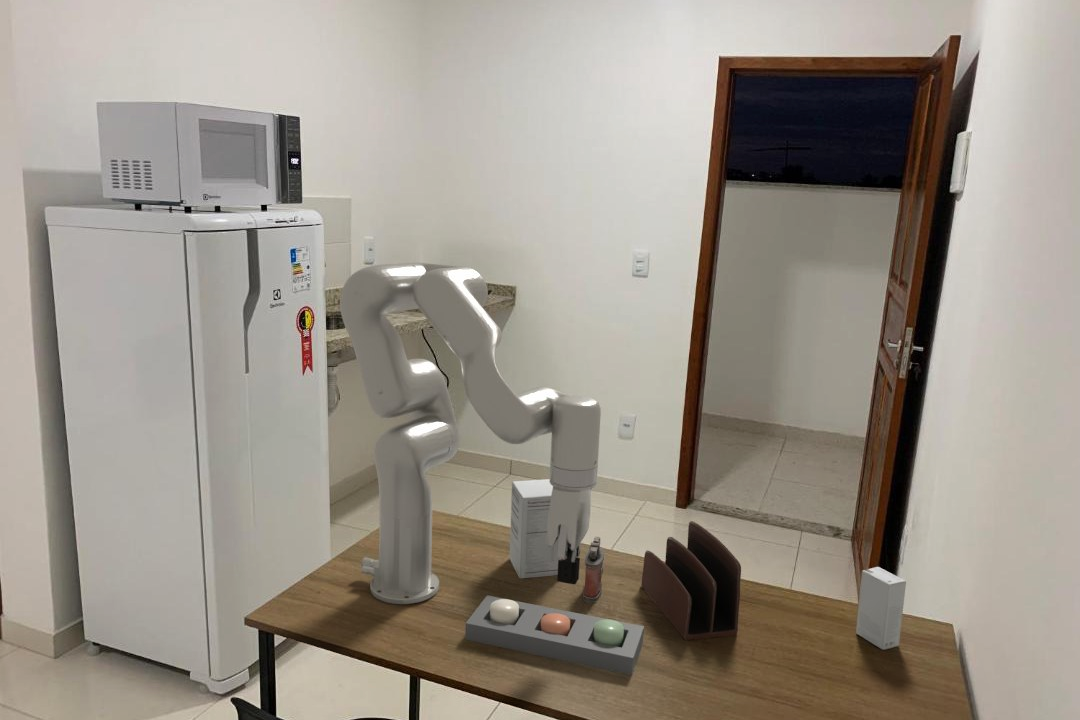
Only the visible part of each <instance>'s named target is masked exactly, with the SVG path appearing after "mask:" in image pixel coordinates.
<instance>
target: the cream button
mask: <svg viewBox="0 0 1080 720" xmlns="http://www.w3.org/2000/svg"><path fill="white" fill-rule="evenodd" d="M515 601H516V600H512V599H507V598H503V599H500V600H496V601H494V602H492V603H491V606H490V621H494V622H499V623H504V624H509V625H514V626H515V624H516V623H517V621H518V616H519V605H518V603H516V602H515Z"/></svg>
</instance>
